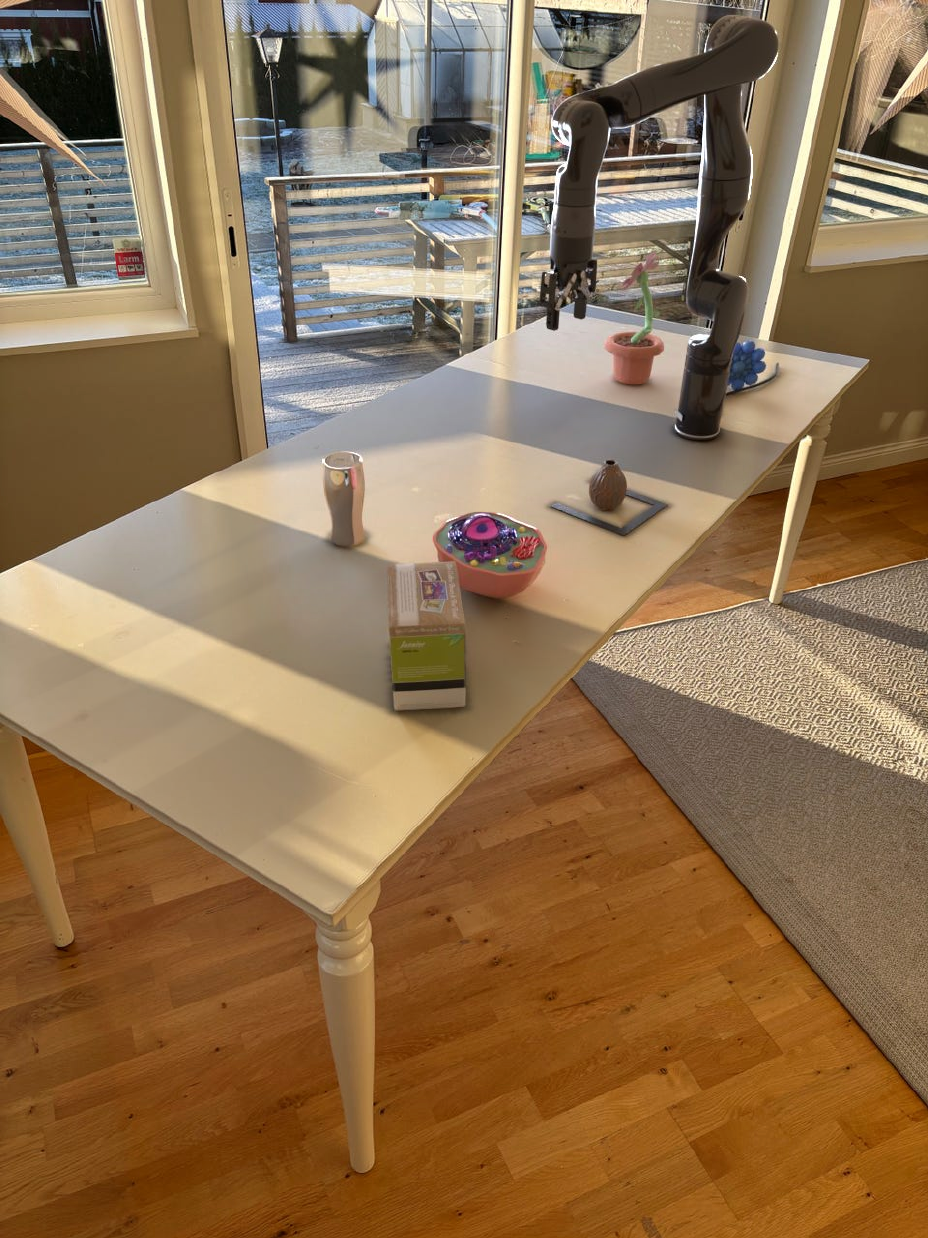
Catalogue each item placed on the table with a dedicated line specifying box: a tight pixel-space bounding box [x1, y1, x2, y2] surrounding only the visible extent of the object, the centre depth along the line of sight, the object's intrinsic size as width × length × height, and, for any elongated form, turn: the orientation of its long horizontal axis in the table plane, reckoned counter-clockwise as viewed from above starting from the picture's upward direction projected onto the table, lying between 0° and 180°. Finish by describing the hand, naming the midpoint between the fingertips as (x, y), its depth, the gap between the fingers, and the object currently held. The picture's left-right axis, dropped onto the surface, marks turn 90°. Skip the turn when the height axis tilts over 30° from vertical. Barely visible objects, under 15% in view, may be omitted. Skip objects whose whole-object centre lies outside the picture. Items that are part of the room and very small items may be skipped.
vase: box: [588, 459, 628, 511], centre depth 170 cm, size 7×7×9 cm
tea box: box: [387, 561, 466, 712], centre depth 127 cm, size 15×10×15 cm, turn 5°
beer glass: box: [322, 451, 366, 548], centre depth 158 cm, size 7×7×15 cm
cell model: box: [432, 511, 548, 600], centre depth 147 cm, size 17×20×11 cm
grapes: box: [727, 340, 767, 391], centre depth 216 cm, size 12×7×12 cm, turn 65°
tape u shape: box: [550, 489, 669, 537], centre depth 172 cm, size 15×16×1 cm
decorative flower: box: [604, 249, 665, 385], centre depth 215 cm, size 15×14×30 cm
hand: (566, 323), depth 170 cm, fingers open, 8 cm apart
